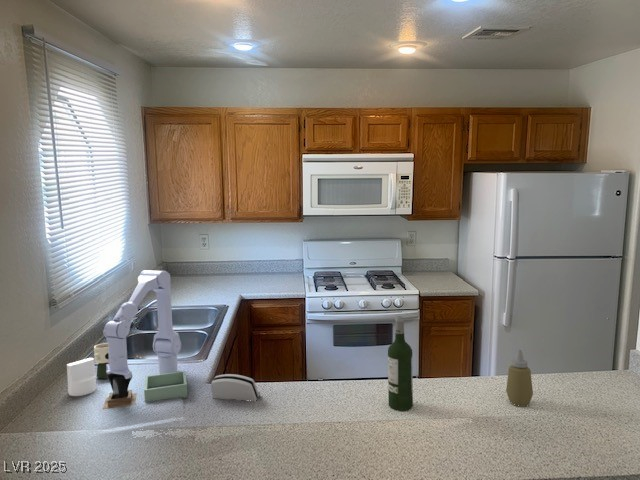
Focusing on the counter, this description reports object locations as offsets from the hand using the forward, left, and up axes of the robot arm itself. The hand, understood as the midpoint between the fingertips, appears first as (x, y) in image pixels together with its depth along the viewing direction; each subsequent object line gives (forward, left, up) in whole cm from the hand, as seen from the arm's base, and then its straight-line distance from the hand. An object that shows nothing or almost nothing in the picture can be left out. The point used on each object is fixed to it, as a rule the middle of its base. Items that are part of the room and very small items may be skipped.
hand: (120, 394), depth 155 cm
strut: (0, 0, -2) cm, 2 cm away
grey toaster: (+11, +38, -4) cm, 39 cm away
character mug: (-30, -8, -4) cm, 31 cm away
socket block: (0, 0, -3) cm, 3 cm away
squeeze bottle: (+51, +125, -4) cm, 135 cm away
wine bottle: (+38, +88, -4) cm, 96 cm away
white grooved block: (-15, -14, -4) cm, 21 cm away
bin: (-3, +15, -3) cm, 16 cm away
